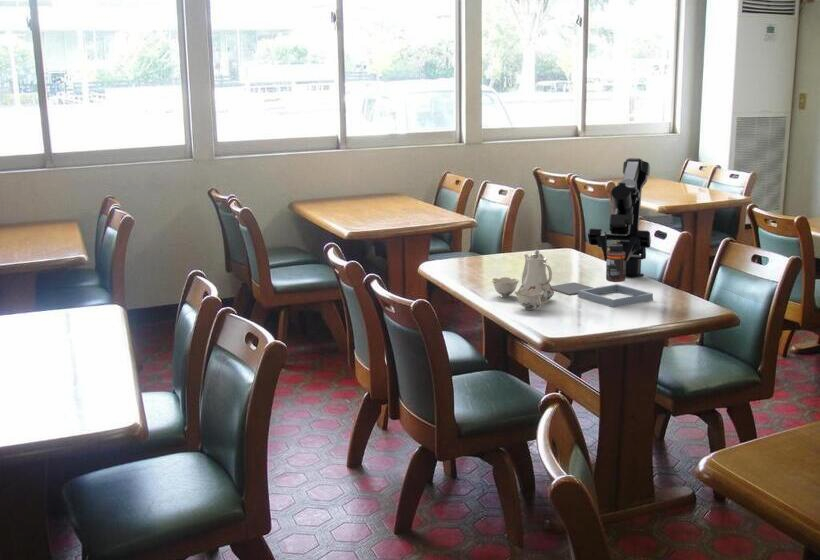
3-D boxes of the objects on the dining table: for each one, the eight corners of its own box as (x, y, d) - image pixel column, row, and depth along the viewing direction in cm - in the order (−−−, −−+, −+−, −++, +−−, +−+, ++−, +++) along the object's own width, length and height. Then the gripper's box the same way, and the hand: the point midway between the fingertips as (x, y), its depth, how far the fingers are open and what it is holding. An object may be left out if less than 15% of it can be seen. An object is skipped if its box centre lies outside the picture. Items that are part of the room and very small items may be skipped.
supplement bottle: (624, 278, 279) (625, 242, 276) (626, 282, 273) (628, 246, 271) (604, 278, 280) (605, 242, 277) (606, 282, 274) (607, 246, 271)
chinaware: (483, 299, 286) (478, 249, 282) (528, 288, 292) (524, 239, 288) (528, 320, 261) (524, 265, 257) (577, 307, 267) (573, 254, 263)
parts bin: (616, 290, 288) (616, 284, 288) (652, 300, 274) (652, 293, 274) (578, 296, 280) (578, 290, 280) (613, 307, 267) (613, 300, 266)
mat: (574, 283, 298) (574, 282, 298) (598, 290, 288) (598, 289, 288) (545, 288, 293) (545, 286, 293) (569, 295, 283) (569, 293, 282)
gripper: (589, 202, 278) (581, 244, 271) (651, 204, 271) (645, 247, 264) (593, 223, 287) (586, 264, 280) (653, 226, 280) (647, 267, 273)
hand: (615, 260), depth 274 cm, fingers closed on supplement bottle, 6 cm apart
